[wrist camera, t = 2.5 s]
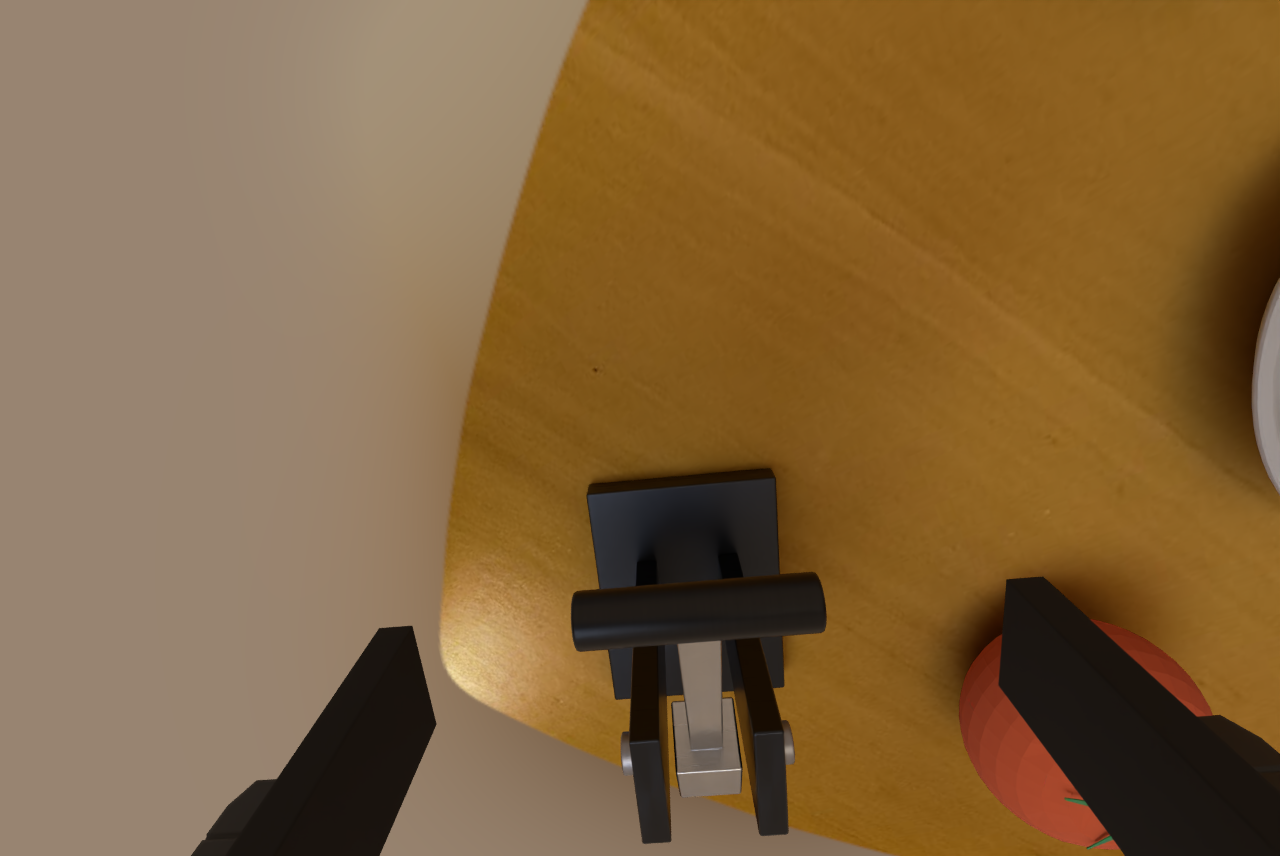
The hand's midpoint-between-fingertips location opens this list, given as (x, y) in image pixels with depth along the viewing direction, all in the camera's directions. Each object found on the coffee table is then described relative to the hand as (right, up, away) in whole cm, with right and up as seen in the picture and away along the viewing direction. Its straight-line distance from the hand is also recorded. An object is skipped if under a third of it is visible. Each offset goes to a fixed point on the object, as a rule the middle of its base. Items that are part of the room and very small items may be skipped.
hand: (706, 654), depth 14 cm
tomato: (+19, -7, +20) cm, 29 cm away
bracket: (+1, -3, +19) cm, 19 cm away
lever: (0, -2, +6) cm, 6 cm away
